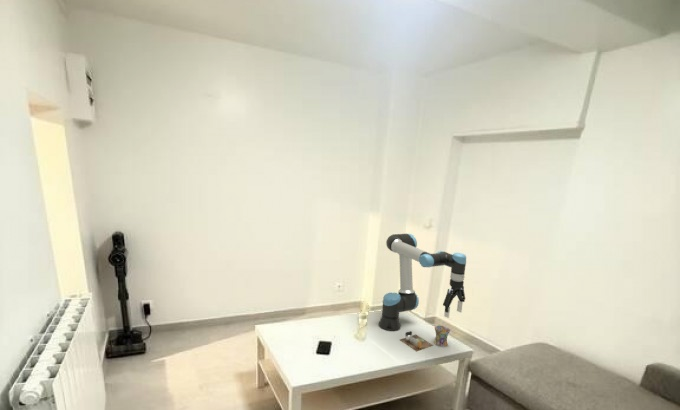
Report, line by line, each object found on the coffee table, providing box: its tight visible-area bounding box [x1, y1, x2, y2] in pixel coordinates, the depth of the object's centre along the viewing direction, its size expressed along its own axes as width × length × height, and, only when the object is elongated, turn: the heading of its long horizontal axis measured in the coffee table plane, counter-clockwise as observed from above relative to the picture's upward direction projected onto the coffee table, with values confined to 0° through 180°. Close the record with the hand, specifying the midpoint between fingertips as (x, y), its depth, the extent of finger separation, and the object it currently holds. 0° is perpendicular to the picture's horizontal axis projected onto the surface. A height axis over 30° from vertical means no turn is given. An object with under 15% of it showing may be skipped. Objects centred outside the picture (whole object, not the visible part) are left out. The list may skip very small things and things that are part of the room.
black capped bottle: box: [404, 330, 422, 349], centre depth 198 cm, size 12×4×6 cm, turn 33°
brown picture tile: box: [399, 334, 434, 352], centre depth 200 cm, size 15×15×1 cm
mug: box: [433, 325, 451, 348], centre depth 202 cm, size 12×9×11 cm
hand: (452, 314), depth 188 cm, fingers open, 13 cm apart
